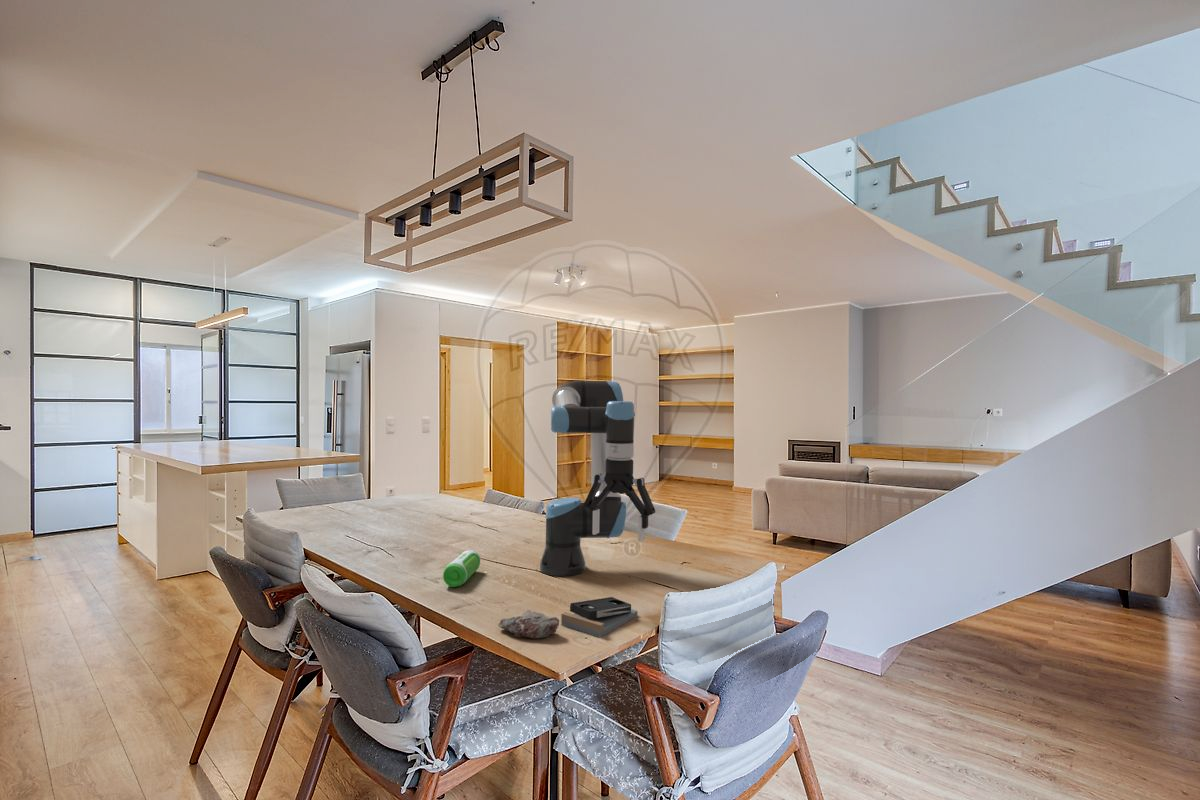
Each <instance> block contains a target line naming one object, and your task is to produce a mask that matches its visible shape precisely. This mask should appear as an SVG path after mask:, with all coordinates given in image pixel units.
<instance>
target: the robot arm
mask: <svg viewBox="0 0 1200 800" xmlns="http://www.w3.org/2000/svg"><path fill="white" fill-rule="evenodd" d="M551 400H552V401H551V402H552V406H553V407H552V408H551V409H550V416H551V417H550V430H551V431H552V432H553V433H556V434H590V454H591V455H590V469H591V471H590V474H591V475H590V477H591V478H590V479H591V482H590V484H591V487H590V490H589V492H588V495H587V496H586V498H585V500H584V502H582V499H581V498H579V497H564V498H558V499H555V500H552V501H550V502H549V503H547V505H546V507H545V508H546V509H545V510H546V511H545V517H544V518H545V546H544V550H543V553H542V556H541V560H540V562H539V571H540V572H541V573H542V574H543V573H544V574H546V575H549V576H557V577H558V576H559V577H569V576H575V575H580V574H582V573H584V572H585V571H586V561H585V557H584V554H583V551H582V547H581V539H603V538H604V539H611V538H620V537H621V536H622V535H623V532H624V530H625V529H624V528H625V524H626V520H627V519H626V517H627V504H626V502H625V501H622V496H621V495H620V494H622V495H623V494H625V495H626V496H627V497H628V498H629V499H630V501H631V503H632V504H633V505H634V507H635V508H636V509H637V511H638V512H639V514H640V515H639V516H638V529H637V530H638V537H637V538H638V539H637V541H638V542H642V541H644V540H645V539H646V529H647V528H648V527H649V517H650V516H652V515H654V514H656V509H655V506H654V504H653V502H652V499H651V497H650V495H649V492H648V490H647V488H646V483H645V478H644V477H639V478H634V460H633V459H632V458H634V457H635V455H634V454H635V453H634V448H635V446H634V444H635V443H634V437H635V435H634V431H635V427H634V426H635V415H636V414H635V405H634V403H633V402H632V401H627V400H625V401H624V395H623V391H622V387H621V385H620V383H619V382H617V381H611V380H610V381H609V380H572V381H569V382H566V383H564V384H562V385H560V386H559V387H557V388H556V389H555V391H554V392H553V394H552V397H551ZM633 485H635V486H636V487H637V491H638V493H639V496H640V497H639V496H638V494H637V493H636V490H635V489H634V487H633ZM640 498H641V499H640Z"/></svg>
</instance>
